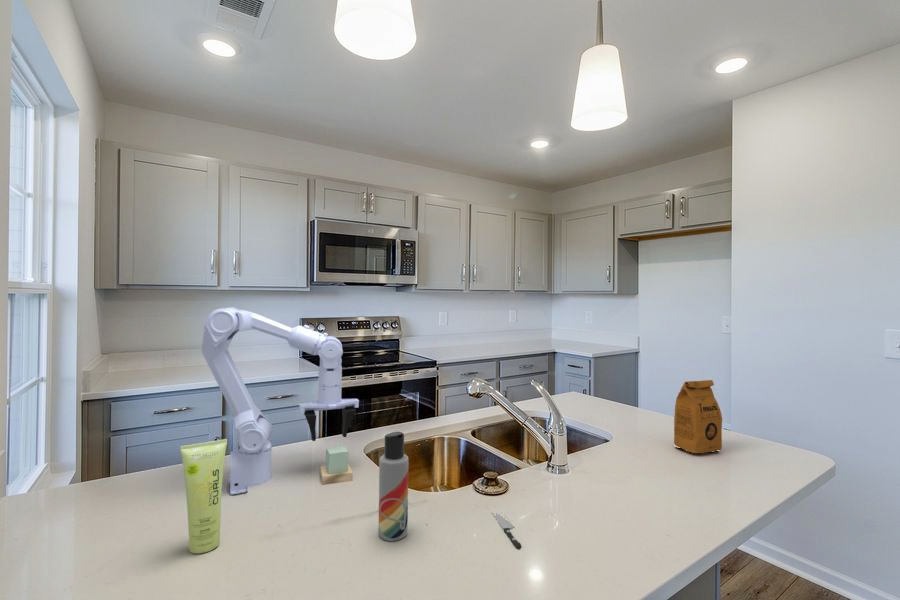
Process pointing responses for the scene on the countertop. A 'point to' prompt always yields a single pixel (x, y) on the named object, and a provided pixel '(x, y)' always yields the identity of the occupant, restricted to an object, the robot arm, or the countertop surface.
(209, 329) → the robot arm
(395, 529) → the lotion bottle
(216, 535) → the tube
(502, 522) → the chef's knife
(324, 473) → the tower top
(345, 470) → the sage block
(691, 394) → the coffee package
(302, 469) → the countertop surface
